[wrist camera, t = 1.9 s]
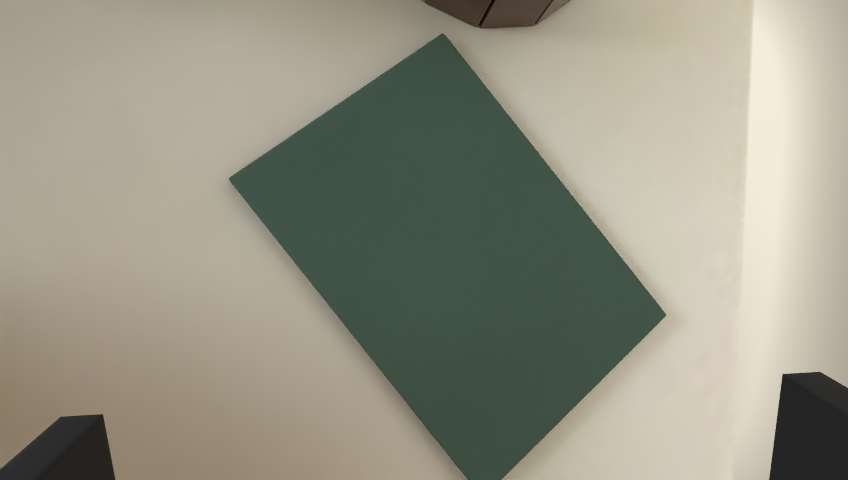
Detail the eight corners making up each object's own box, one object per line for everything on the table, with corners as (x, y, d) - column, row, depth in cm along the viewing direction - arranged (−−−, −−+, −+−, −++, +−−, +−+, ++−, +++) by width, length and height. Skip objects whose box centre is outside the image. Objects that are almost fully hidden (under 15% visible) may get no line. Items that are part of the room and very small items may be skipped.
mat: (230, 181, 26) (228, 177, 25) (441, 38, 29) (443, 32, 29) (479, 494, 26) (483, 498, 25) (660, 315, 29) (667, 315, 29)
